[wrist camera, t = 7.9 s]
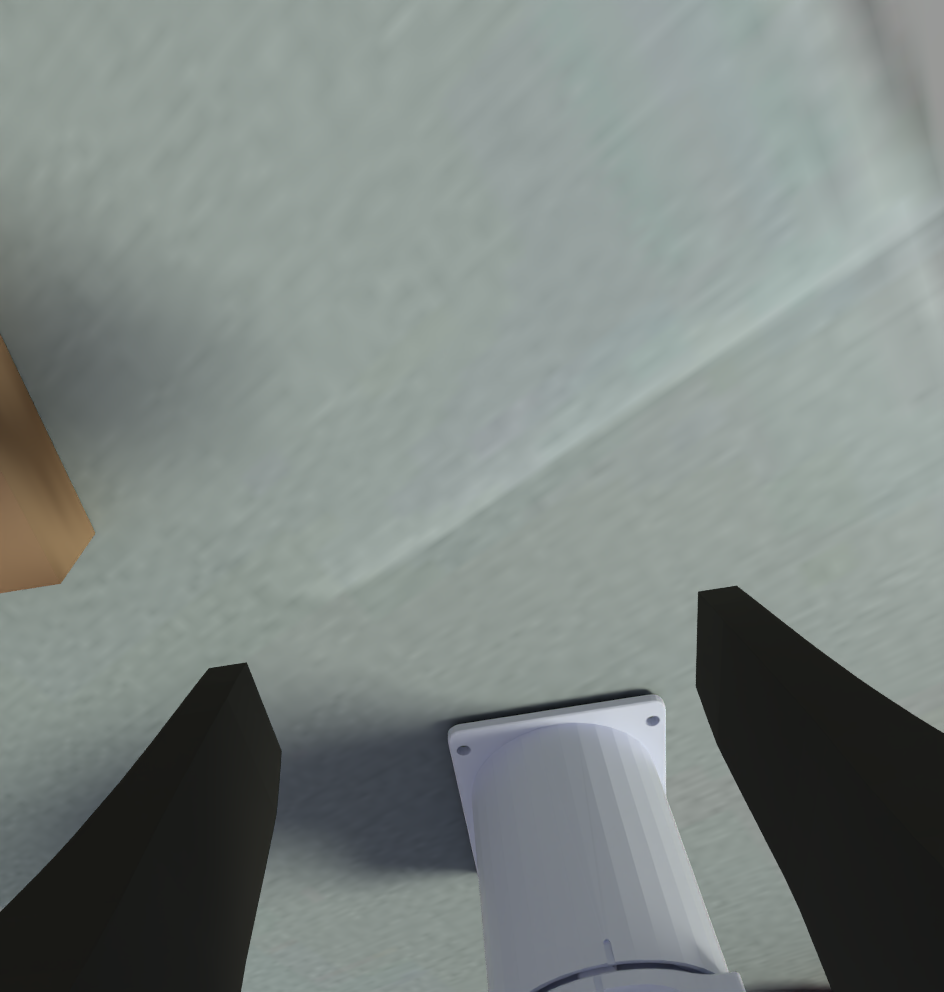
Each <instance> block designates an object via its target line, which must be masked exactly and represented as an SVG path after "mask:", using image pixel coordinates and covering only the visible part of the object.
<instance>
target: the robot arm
mask: <svg viewBox="0 0 944 992" xmlns="http://www.w3.org/2000/svg"><path fill="white" fill-rule="evenodd" d="M696 688H697V691H698V694H699V697H700V699H701V702H702V705H703V708H704V711H705V714H706V716H707V719H708V722H709V724H710V727H711V730H712V732H713V735H714V738H715V740H716V743H717V745H718V747H719V749H720V751H721V753H722V756H723V758H724V760H725V762H726V764H727V766H728V768H729V769H730V771H731V773H732V775H733V777H734V779H735V781H736V783H737V785H738V787H739V789H740V791H741V793H742V795H743V797H744V799H745V801H746V803H747V805H748V807H749V809H750V811H751V813H752V815H753V817H754V819H755V821H756V822H757V824H758V826H759V828H760V830H761V832H762V834H763V836H764V838H765V840H766V842H767V844H768V846H769V848H770V850H771V852H772V854H773V856H774V858H775V860H776V861H777V863H778V865H779V867H780V869H781V871H782V873H783V875H784V877H785V879H786V881H787V883H788V886H789V888H790V890H791V892H792V894H793V896H794V899H795V901H796V903H797V905H798V907H799V909H800V912H801V914H802V917H803V919H804V922H805V924H806V927H807V929H808V932H809V934H810V937H811V939H812V942H813V944H814V947H815V949H816V951H817V954H818V956H819V959H820V961H821V964H822V966H823V969H824V971H825V974H826V976H827V979H828V981H829V984H830V987H831V989H832V992H944V733H942V732H941V731H939V730H937V729H936V728H934V727H932V726H931V725H929V724H928V723H926V722H924V721H923V720H921V719H919V718H918V717H916V716H914V715H913V714H911V713H910V712H908V711H907V710H905V709H904V708H902V707H901V706H899V705H898V704H896V703H895V702H893V701H891V700H890V699H888V698H887V697H885V696H884V695H882V694H881V693H879V692H878V691H876V690H875V689H873V688H872V687H870V686H869V685H867V684H866V683H864V682H863V681H862V680H860V679H859V678H857V677H856V676H854V675H853V674H852V673H850V672H849V671H848V670H846V669H845V668H843V667H842V666H841V665H839V664H838V663H837V662H835V661H834V660H832V659H831V658H830V657H828V656H827V655H826V654H824V653H823V652H821V651H820V650H819V649H817V648H816V647H815V646H814V645H812V644H811V643H810V642H808V641H807V640H806V639H804V638H803V637H802V636H800V635H799V634H798V633H797V632H795V631H794V630H793V629H791V628H790V627H789V626H788V625H786V624H785V623H784V622H782V621H781V620H780V619H779V618H777V617H776V616H775V615H774V614H772V613H771V612H770V611H768V610H767V609H766V608H765V607H763V606H762V605H761V604H760V603H758V602H757V601H756V600H754V599H753V598H752V597H751V596H749V595H748V594H747V593H745V592H744V591H743V590H742V589H740V588H739V587H738V586H732V587H725V588H719V589H712V590H706V591H700V592H698V618H697V659H696ZM651 716H654V717H651ZM649 717H651V718H649ZM448 744H449V749H450V753H451V758H452V762H453V767H454V771H455V775H456V780H457V784H458V789H459V793H460V798H461V802H462V807H463V811H464V816H465V820H466V825H467V829H468V834H469V838H470V843H471V847H472V852H473V856H474V861H475V865H476V870H477V874H478V879H479V890H480V901H481V913H482V924H483V936H484V947H485V959H486V970H487V982H488V992H746V990H745V987H744V985H743V982H742V979H741V976H740V974H739V973H738V972H729V971H728V968H727V965H726V962H725V959H724V957H723V954H722V951H721V948H720V946H719V943H718V940H717V937H716V934H715V932H714V929H713V926H712V923H711V920H710V918H709V915H708V912H707V909H706V906H705V904H704V901H703V898H702V895H701V892H700V890H699V887H698V884H697V881H696V878H695V876H694V873H693V870H692V867H691V865H690V862H689V859H688V856H687V853H686V851H685V848H684V845H683V842H682V839H681V837H680V834H679V831H678V828H677V825H676V823H675V820H674V817H673V814H672V811H671V809H670V806H669V803H668V800H667V798H666V708H665V704H664V702H663V700H662V698H661V697H660V696H658V695H655V694H652V695H643V696H637V697H630V698H624V699H617V700H611V701H605V702H598V703H592V704H585V705H579V706H573V707H566V708H560V709H553V710H547V711H541V712H534V713H528V714H521V715H515V716H509V717H502V718H496V719H489V720H483V721H477V722H470V723H464V724H458V725H455V726H453V727H452V728H450V730H449V731H448ZM460 746H465V747H460ZM281 752H282V751H281V748H280V746H279V743H278V741H277V738H276V736H275V733H274V731H273V728H272V725H271V723H270V720H269V718H268V715H267V713H266V710H265V708H264V705H263V703H262V700H261V698H260V695H259V692H258V690H257V687H256V685H255V682H254V680H253V677H252V675H251V672H250V670H249V667H248V665H247V662H246V663H240V664H234V665H227V666H221V667H214V668H209V669H208V670H207V671H206V673H205V674H204V675H203V676H202V678H201V679H200V680H199V681H198V683H197V684H196V685H195V686H194V688H193V689H192V690H191V692H190V693H189V694H188V696H187V697H186V698H185V699H184V701H183V702H182V703H181V705H180V706H179V707H178V709H177V710H176V711H175V712H174V714H173V715H172V716H171V718H170V719H169V720H168V722H167V723H166V724H165V725H164V727H163V728H162V729H161V731H160V732H159V733H158V735H157V736H156V737H155V738H154V740H153V741H152V742H151V744H150V745H149V746H148V747H147V749H146V750H145V751H144V752H143V754H142V755H141V756H140V757H139V759H138V760H137V761H136V762H135V764H134V765H133V766H132V767H131V769H130V770H129V771H128V772H127V774H126V775H125V776H124V778H123V779H122V780H121V781H120V783H119V784H118V785H117V786H116V787H115V788H114V790H113V791H112V792H111V793H110V794H109V795H108V796H107V798H106V799H105V800H104V801H103V802H102V803H101V805H100V806H99V807H98V808H97V809H96V810H95V812H94V813H93V814H92V815H91V816H90V817H89V819H88V820H87V821H86V822H85V823H84V824H83V826H82V827H81V828H80V829H79V830H78V831H77V832H76V834H75V835H74V836H73V837H72V838H71V839H70V840H69V842H68V843H67V844H66V845H65V846H64V847H63V848H62V849H61V850H60V851H59V852H58V854H57V855H56V856H55V857H54V858H53V859H52V860H51V861H50V862H49V863H48V864H47V865H46V866H45V867H44V868H43V869H42V870H41V871H40V873H39V874H38V875H37V876H36V877H35V878H34V879H33V880H32V881H31V882H30V883H29V884H28V885H27V886H26V887H25V888H24V889H23V890H22V891H21V892H20V893H19V894H18V895H17V896H16V897H15V898H14V899H13V900H12V901H11V902H10V903H9V904H8V905H7V906H6V907H5V908H4V909H3V910H2V911H1V912H0V992H241V988H242V982H243V976H244V970H245V964H246V959H247V954H248V949H249V945H250V940H251V935H252V930H253V926H254V921H255V916H256V911H257V907H258V902H259V897H260V892H261V888H262V883H263V878H264V873H265V869H266V864H267V859H268V854H269V849H270V844H271V839H272V834H273V829H274V824H275V819H276V814H277V803H278V793H279V781H280V766H281Z"/></svg>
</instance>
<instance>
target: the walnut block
mask: <svg viewBox="0 0 944 992" xmlns="http://www.w3.org/2000/svg"><path fill="white" fill-rule="evenodd" d="M94 535H95V531H94V529H93V527H92V525H91V523H90V521H89V519H88V517H87V515H86V513H85V511H84V508H83V506H82V504H81V502H80V500H79V498H78V496H77V494H76V492H75V490H74V488H73V485H72V483H71V481H70V479H69V477H68V475H67V473H66V471H65V469H64V467H63V464H62V462H61V460H60V458H59V456H58V454H57V452H56V450H55V448H54V446H53V444H52V441H51V439H50V437H49V435H48V433H47V431H46V429H45V427H44V425H43V423H42V421H41V418H40V416H39V414H38V412H37V410H36V408H35V406H34V404H33V402H32V400H31V397H30V395H29V393H28V391H27V389H26V387H25V385H24V383H23V381H22V379H21V377H20V374H19V372H18V370H17V368H16V366H15V364H14V362H13V360H12V358H11V356H10V354H9V351H8V349H7V347H6V345H5V343H4V341H3V339H2V337H1V335H0V593H4V592H10V591H17V590H23V589H29V588H36V587H42V586H48V585H55V584H61V582H62V581H63V579H64V578H65V577H66V575H67V574H68V572H69V571H70V569H71V568H72V566H73V565H74V564H75V562H76V561H77V559H78V558H79V556H80V555H81V553H82V552H83V550H84V549H85V548H86V546H87V545H88V543H89V542H90V540H91V539H92V537H93V536H94Z"/></svg>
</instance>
